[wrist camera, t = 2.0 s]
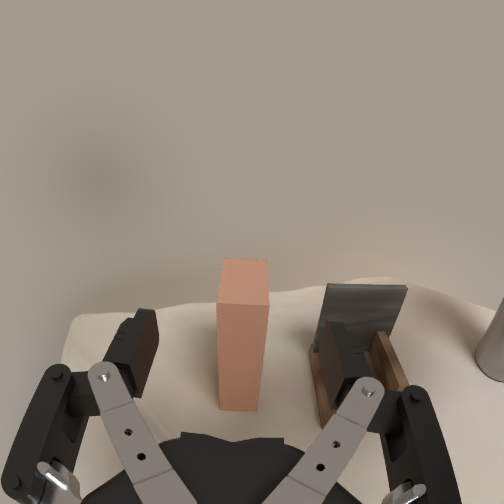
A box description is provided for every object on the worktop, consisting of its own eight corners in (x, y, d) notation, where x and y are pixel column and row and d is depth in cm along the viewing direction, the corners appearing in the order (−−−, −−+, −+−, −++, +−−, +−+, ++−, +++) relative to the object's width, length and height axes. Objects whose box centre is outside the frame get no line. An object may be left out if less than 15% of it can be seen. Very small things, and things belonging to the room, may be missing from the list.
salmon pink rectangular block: (256, 411, 30) (269, 305, 23) (219, 409, 29) (216, 302, 23) (256, 364, 36) (266, 259, 29) (224, 362, 36) (224, 257, 29)
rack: (402, 418, 28) (447, 350, 22) (322, 428, 27) (353, 359, 22) (376, 350, 38) (403, 281, 33) (309, 352, 38) (325, 279, 33)
